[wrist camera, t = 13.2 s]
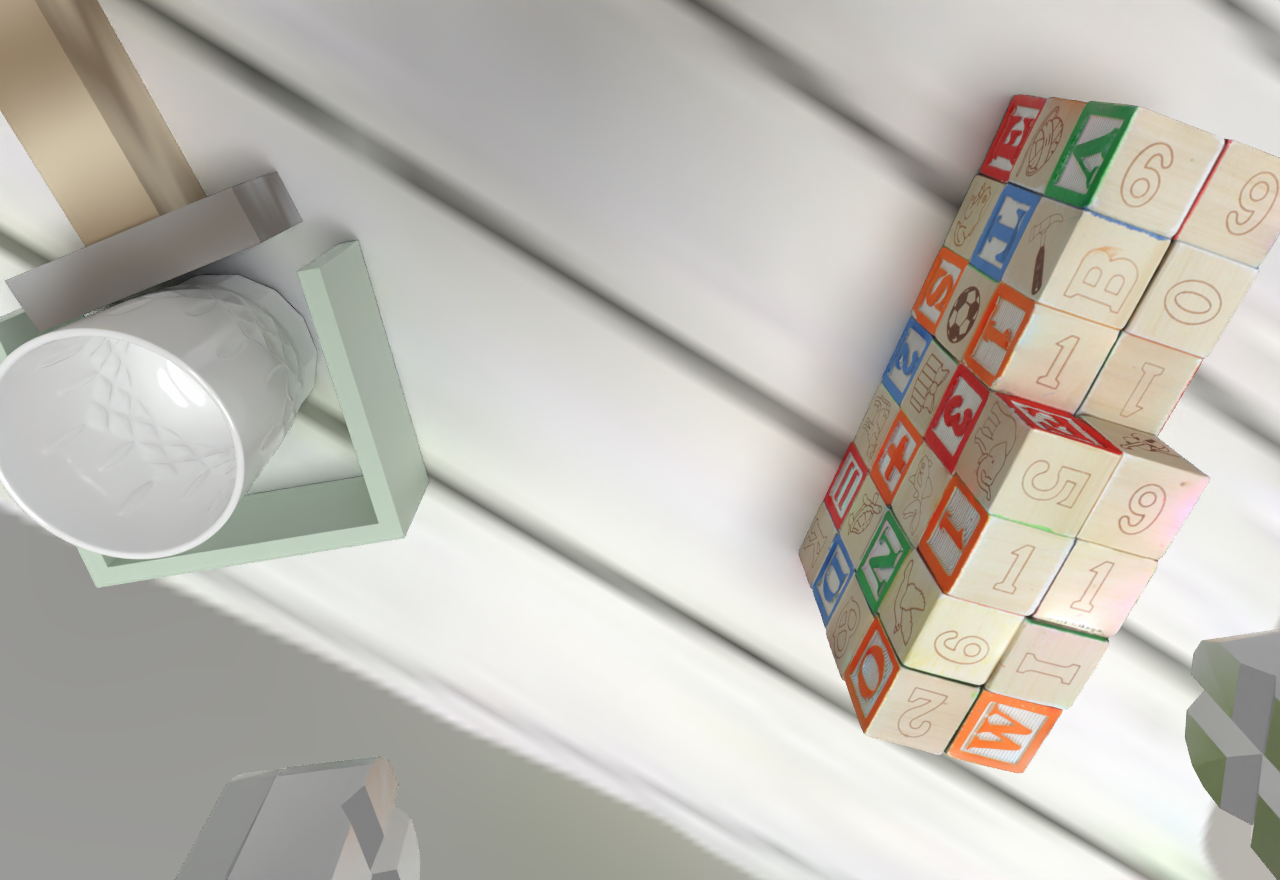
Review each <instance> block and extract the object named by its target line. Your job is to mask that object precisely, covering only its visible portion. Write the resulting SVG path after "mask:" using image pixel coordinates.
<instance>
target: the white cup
mask: <svg viewBox="0 0 1280 880" xmlns="http://www.w3.org/2000/svg"><path fill="white" fill-rule="evenodd" d="M316 362H317V350H316V348H315V345H314V343H313V341H312V338H311V336H310V333H309V331H308V328H307V326H306V323H305V321H304V319H303V317H302V316H301V315H300V314H299V313H298V312H297V311H296V310H295V309H294V308H293V307H292V306H291V305H290V304H289V303H288V302H287V301H286V300H285V299H284V298H283V297H282V296H281V295H280V294H279V293H277V292H276V291H275V290H274V289H271V288H269V287H266V286H264V285H262V284H259V283H257V282H254V281H252V280H249V279H247V278H245V277H242V276H240V275H200V276H196V277H194V278H192V279H189V280H187V281H185V282H182V283H180V284H178V285H176V286H172V287H167V288H163V289H159V290H155V291H152V292H150V293H147V294H144V295H142V296H139V297H137V298H133V299H130V300H127V301H124V302H122V303H119V304H117V305H115V306H112V307H110V308H107V309H105V310H103V311H100V312H98V313H95V314H93V315H90V316H88V317H86V318H83V319H81V320H78V321H76V322H73V323H71V324H68V325H66V326H64V327H61V328H59V329H56V330H54V331H51V332H49V333H46V334H44V335H41V336H39V337H36V338H34V339H32V340H30V341H28V342H26V343H24V344H23V345H21V346H20V347H18V348H17V349H15V350H14V351H13V352H12V353H10V354H9V355H8V356H7V357H6V358H5V359H4V360H3V361H2V362H1V364H0V483H1V485H2V486H3V488H4V489H5V490H6V492H7V493H8V494H9V496H10V497H11V498H12V499H13V500H14V502H15V503H16V504H17V505H18V506H19V507H20V508H21V509H22V510H23V511H24V512H25V513H26V514H27V515H28V516H29V517H31V518H32V519H33V520H34V521H35V522H37V523H38V524H39V525H41V526H42V527H43V528H45V529H46V530H48V531H49V532H51V533H52V534H54V535H56V536H57V537H59V538H61V539H63V540H65V541H67V542H69V543H71V544H73V545H75V546H78V547H80V548H83V549H85V550H88V551H91V552H95V553H98V554H102V555H106V556H111V557H116V558H124V559H156V558H163V557H168V556H172V555H176V554H179V553H182V552H185V551H187V550H190V549H192V548H194V547H196V546H198V545H200V544H201V543H203V542H205V541H206V540H208V539H209V538H210V537H212V536H213V535H214V534H215V533H216V532H217V531H218V530H219V529H220V528H221V527H222V526H223V525H224V524H225V523H226V522H227V520H228V519H229V517H230V516H231V515H232V513H233V512H234V510H235V509H236V507H237V506H238V504H239V503H240V501H241V500H242V499H243V497H244V496H245V494H246V493H247V491H248V490H249V489H250V487H251V486H252V484H253V483H254V482H255V480H256V479H257V477H258V476H259V474H260V473H261V472H262V470H263V468H264V467H265V466H266V464H267V463H268V461H269V460H270V458H271V457H272V456H273V454H274V453H275V451H276V450H277V449H278V447H279V446H280V445H281V443H282V441H283V439H284V437H285V436H286V434H287V432H288V431H289V430H290V428H291V427H292V425H293V423H294V419H295V416H296V414H297V412H298V411H299V409H300V408H301V406H302V405H303V403H304V402H305V400H306V399H307V397H308V396H309V394H310V393H311V391H312V390H313V388H314V386H315V376H316Z"/></svg>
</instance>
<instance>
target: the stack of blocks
mask: <svg viewBox="0 0 1280 880" xmlns="http://www.w3.org/2000/svg"><path fill="white" fill-rule="evenodd" d="M1279 234H1280V158H1279V157H1276V156H1274V155H1271V154H1268V153H1266V152H1263V151H1260V150H1258V149H1256V148H1253V147H1250V146H1247V145H1245V144H1242V143H1240V142H1237V141H1234V140H1229V139H1224V138H1221V137H1219V136H1216V135H1214V134H1211V133H1209V132H1206V131H1204V130H1201V129H1198V128H1196V127H1193V126H1190V125H1188V124H1185V123H1182V122H1180V121H1177V120H1174V119H1172V118H1169V117H1167V116H1164V115H1161V114H1158V113H1156V112H1153V111H1151V110H1148V109H1145V108H1142V107H1139V106H1134V105H1126V104H1117V103H1105V102H1096V101H1090V102H1088V103H1086V102H1081V101H1076V100H1068V99H1061V98H1055V97H1051V98H1048V99H1047V98H1042V97H1037V96H1030V95H1020V94H1019V95H1014V97H1013V99H1012V100H1011V103H1010V105H1009V107H1008V110H1007V112H1006V114H1005V116H1004V119H1003V121H1002V123H1001V125H1000V127H999V130H998V132H997V134H996V136H995V138H994V141H993V143H992V145H991V147H990V150H989V152H988V154H987V156H986V159H985V161H984V163H983V165H982V167H981V171H980V174H978V175H976V176H975V177H974V179H973V181H972V183H971V185H970V188H969V190H968V192H967V194H966V196H965V198H964V200H963V202H962V205H961V207H960V209H959V211H958V213H957V216H956V218H955V220H954V222H953V224H952V226H951V228H950V231H949V233H948V235H947V237H946V240H945V243H944V246H943V247H942V249H941V250H940V252H939V254H938V256H937V258H936V260H935V262H934V264H933V266H932V269H931V271H930V273H929V275H928V277H927V279H926V281H925V283H924V285H923V287H922V290H921V292H920V294H919V296H918V298H917V301H916V303H915V305H914V307H913V309H912V317H911V318H910V320H909V322H908V324H907V326H906V328H905V330H904V332H903V334H902V337H901V339H900V341H899V343H898V345H897V347H896V349H895V352H894V354H893V356H892V358H891V360H890V362H889V364H888V366H887V369H886V371H885V373H884V375H883V378H882V382H881V384H880V385H879V387H878V389H877V391H876V393H875V395H874V397H873V400H872V402H871V404H870V406H869V408H868V410H867V412H866V415H865V417H864V419H863V421H862V423H861V425H860V428H859V430H858V432H857V434H856V436H855V439H854V441H853V442H851V444H850V445H849V448H848V450H847V452H846V454H845V456H844V458H843V460H842V462H841V464H840V467H839V469H838V471H837V473H836V475H835V477H834V479H833V481H832V483H831V486H830V488H829V490H828V492H827V494H826V496H825V498H824V501H823V502H822V504H821V506H820V508H819V510H818V512H817V514H816V516H815V518H814V520H813V522H812V525H811V527H810V529H809V531H808V533H807V535H806V537H805V539H804V542H803V544H802V546H801V548H800V550H799V557H800V560H801V563H802V565H803V568H804V570H805V573H806V576H807V580H808V582H809V585H810V587H811V589H813V593H814V597H815V600H816V602H817V605H818V608H819V610H820V613H821V616H822V620H823V623H824V626H825V628H826V635H827V638H828V641H829V644H830V648H831V650H832V654H833V656H834V659H835V661H836V665H837V668H838V670H839V673H840V676H841V678H842V680H844V681H845V682H846V685H847V688H848V691H849V694H850V697H851V700H852V703H853V706H854V709H855V711H856V714H857V718H858V721H859V723H860V726H861V728H862V730H863V733H864V734H865V735H867V736H869V737H873V738H877V739H881V740H885V741H889V742H893V743H896V744H900V745H904V746H908V747H912V748H916V749H919V750H923V751H926V752H929V753H933V754H937V755H941V754H942V752H943V751H944V752H945V754H946V755H948V756H950V757H953V758H955V759H959V760H963V761H968V762H972V763H976V764H980V765H984V766H988V767H993V768H997V769H1001V770H1005V771H1010V772H1014V773H1023V772H1024V771H1025V769H1026V768H1027V766H1028V765H1029V763H1030V762H1031V760H1032V758H1033V757H1034V755H1035V754H1036V752H1037V751H1038V749H1039V747H1040V746H1041V744H1042V743H1043V741H1044V740H1045V738H1046V737H1047V736H1048V734H1049V733H1050V731H1051V729H1052V727H1053V726H1054V724H1055V723H1056V721H1057V720H1058V718H1059V717H1060V715H1061V714H1062V709H1068V708H1070V707H1071V706H1072V704H1073V702H1074V701H1075V699H1076V697H1077V696H1078V694H1079V693H1080V692H1081V690H1082V689H1083V687H1084V685H1085V683H1086V682H1087V680H1088V679H1089V677H1090V676H1091V674H1092V672H1093V671H1094V669H1095V668H1096V666H1097V664H1098V663H1099V661H1100V659H1101V658H1102V656H1103V654H1104V653H1105V651H1106V649H1107V648H1108V646H1109V640H1108V638H1109V637H1110V636H1113V635H1115V634H1116V633H1117V632H1118V631H1119V629H1120V627H1121V626H1122V624H1123V623H1124V622H1125V620H1126V618H1127V616H1128V615H1129V613H1130V611H1131V610H1132V608H1133V606H1134V605H1135V603H1136V602H1137V600H1138V599H1139V597H1140V595H1141V593H1142V592H1143V590H1144V588H1145V587H1146V585H1147V584H1148V582H1149V580H1150V579H1151V577H1152V576H1153V574H1154V573H1155V571H1156V568H1157V564H1158V559H1160V558H1161V557H1163V555H1164V554H1165V553H1166V551H1167V549H1168V548H1169V546H1170V544H1171V543H1172V541H1173V540H1174V538H1175V536H1176V535H1177V533H1178V531H1179V530H1180V528H1181V527H1182V525H1183V523H1184V522H1185V520H1186V519H1187V517H1188V515H1189V514H1190V512H1191V511H1192V509H1193V507H1194V506H1195V504H1196V502H1197V501H1198V499H1199V497H1200V496H1201V494H1202V492H1203V491H1204V489H1205V488H1206V486H1207V485H1208V483H1209V480H1210V477H1209V476H1207V475H1206V474H1204V473H1203V472H1202V471H1200V470H1199V469H1198V468H1196V467H1195V466H1194V465H1193V464H1191V463H1190V462H1189V461H1187V460H1186V459H1185V458H1183V457H1182V456H1181V455H1179V454H1178V453H1177V452H1175V451H1174V450H1173V449H1172V448H1170V447H1169V446H1168V445H1166V444H1165V443H1164V442H1163V441H1161V440H1160V439H1159V438H1158V435H1159V433H1160V432H1161V430H1162V429H1163V427H1164V425H1165V423H1166V422H1167V420H1168V418H1169V417H1170V415H1171V413H1172V412H1173V410H1174V408H1175V407H1176V405H1177V403H1178V402H1179V400H1180V398H1181V397H1182V395H1183V393H1184V392H1185V390H1186V388H1187V387H1188V385H1189V383H1190V382H1191V380H1192V378H1193V377H1194V375H1195V373H1196V372H1197V370H1198V368H1199V367H1200V365H1201V363H1202V361H1203V359H1204V358H1206V357H1208V355H1209V354H1210V353H1211V351H1212V349H1213V348H1214V346H1215V344H1216V343H1217V341H1218V339H1219V338H1220V336H1221V335H1222V333H1223V331H1224V330H1225V328H1226V326H1227V325H1228V323H1229V321H1230V320H1231V318H1232V316H1233V315H1234V313H1235V311H1236V310H1237V308H1238V306H1239V305H1240V303H1241V302H1242V300H1243V298H1244V297H1245V295H1246V293H1247V292H1248V290H1249V288H1250V287H1251V285H1252V283H1253V282H1254V280H1255V278H1256V277H1257V275H1258V273H1259V268H1258V266H1259V265H1260V264H1261V263H1262V261H1263V260H1264V259H1265V257H1266V255H1267V254H1268V252H1269V251H1270V249H1271V247H1272V246H1273V244H1274V242H1275V241H1276V239H1277V238H1278V236H1279Z"/></svg>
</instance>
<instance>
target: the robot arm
mask: <svg viewBox="0 0 1280 880" xmlns="http://www.w3.org/2000/svg"><path fill="white" fill-rule="evenodd" d="M1191 675H1192V676H1193V677H1194V679H1195V680H1196V681H1197V682H1198V683H1199V684H1200V685H1201V686H1202V688H1203V689H1204V691H1203V692H1202V693H1201V695H1200V696H1199V697H1198V698H1197V699H1196V700H1195V701H1194V703H1193V704H1192V705H1191V706H1190V707H1189V708H1188V709H1187V713H1186V729H1185V740H1186V743H1187V747H1188V751H1189V755H1190V759H1191V763H1192V766H1193V768H1194V770H1195V772H1196V774H1197V775H1198V777H1199V779H1200V781H1201V783H1202V785H1203V787H1204V788H1205V789H1206V791H1207V792H1208V793H1209V795H1210V796H1211V797H1212V799H1213V800H1214V801H1215V802H1216V804H1217V805H1218V806H1219V808H1221V809H1222V810H1224V811H1226V812H1228V813H1230V814H1232V815H1234V816H1236V817H1238V818H1239V819H1241V820H1243V821H1245V822H1247V823H1249V824H1251V825H1252V830H1251V848H1252V849H1253V850H1254V852H1255V853H1256V854H1257V855H1258V857H1259V858H1260V859H1261V860H1262V862H1263V863H1264V864H1265V865H1266V867H1267V868H1268V869H1269V870H1270V871H1271V873H1272V874H1273V875H1274V876H1275V878H1276V879H1277V880H1280V629H1277V630H1271V631H1264V632H1257V633H1250V634H1244V635H1237V636H1230V637H1223V638H1216V639H1210V640H1203V641H1201V642H1200V644H1199V646H1198V647H1197V649H1196V650H1195V652H1194V654H1193V661H1192V669H1191ZM398 786H399V784H398V781H397V779H396V776H395V774H394V771H393V769H392V766H391V764H390V761H389V760H387V759H385V758H383V757H380V756H378V757H370V758H362V759H352V760H344V761H335V762H326V763H318V764H309V765H301V766H292V767H287V768H286V769H275V770H267V771H257V772H249V773H240V774H239V775H237V776H236V777H235V778H233V779H232V780H231V781H229V782H228V783H227V784H226V786H225V788H224V790H223V791H222V793H221V795H220V797H219V799H218V801H217V802H216V804H215V806H214V808H213V810H212V812H211V814H210V815H209V817H208V819H207V821H206V823H205V825H204V827H203V828H202V830H201V832H200V834H199V836H198V838H197V840H196V841H195V843H194V845H193V847H192V849H191V851H190V853H189V854H188V856H187V858H186V860H185V862H184V864H183V865H182V867H181V869H180V871H179V873H178V875H177V877H176V878H175V880H419V875H420V854H419V848H418V842H417V835H416V832H415V829H414V826H413V823H412V821H411V817H409V816H408V815H407V814H405V813H404V812H402V811H401V810H399V809H398V808H397V807H395V806H394V805H393V804H394V800H395V796H396V793H397V790H398Z"/></svg>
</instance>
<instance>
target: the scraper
mask: <svg viewBox="0 0 1280 880" xmlns="http://www.w3.org/2000/svg"><path fill="white" fill-rule="evenodd" d="M0 110H1V112H2V114H3V115H4V117H5V118H6V120H7V122H8V123H9V125H10V126H11V128H12V130H13V131H14V133H15V134H16V136H17V138H18V139H19V141H20V142H21V144H22V146H23V147H24V149H25V150H26V152H27V154H28V155H29V157H30V158H31V160H32V162H33V163H34V165H35V166H36V168H37V170H38V171H39V173H40V174H41V176H42V178H43V179H44V181H45V182H46V184H47V186H48V187H49V189H50V190H51V192H52V194H53V195H54V197H55V198H56V200H57V202H58V203H59V205H60V206H61V208H62V210H63V211H64V213H65V214H66V216H67V218H68V219H69V221H70V222H71V224H72V226H73V227H74V229H75V230H76V232H77V234H78V235H79V237H80V238H81V240H82V242H83V243H84V245H85V246H86V247H85V248H83V249H80V250H78V251H75V252H73V253H71V254H68V255H66V256H63V257H61V258H59V259H56V260H54V261H51V262H49V263H46V264H44V265H42V266H39V267H37V268H34V269H32V270H30V271H27V272H25V273H22V274H20V275H17V276H15V277H13V278H10V279H8V280H5V282H6V284H7V285H8V287H9V288H10V290H11V291H12V293H13V294H14V296H15V297H16V299H17V300H18V302H19V303H20V305H21V306H22V308H23V309H24V311H25V312H26V314H27V315H28V317H29V318H30V320H31V321H32V323H33V324H34V326H35V327H36V329H37V330H38V331H39V332H41V331H44V330H46V329H49V328H51V327H54V326H56V325H59V324H61V323H64V322H66V321H69V320H71V319H74V318H76V317H79V316H81V315H84V314H86V313H88V312H91V311H93V310H96V309H98V308H101V307H103V306H106V305H108V304H111V303H113V302H116V301H118V300H121V299H123V298H126V297H128V296H131V295H133V294H136V293H138V292H140V291H143V290H145V289H148V288H150V287H153V286H155V285H158V284H160V283H163V282H165V281H168V280H170V279H173V278H175V277H178V276H180V275H183V274H185V273H188V272H190V271H192V270H195V269H197V268H200V267H202V266H205V265H207V264H210V263H212V262H215V261H217V260H220V259H222V258H225V257H227V256H230V255H232V254H235V253H237V252H240V251H242V250H244V249H247V248H249V247H252V246H254V245H257V244H259V243H262V242H264V241H266V240H267V239H269V238H271V237H273V236H275V235H277V234H279V233H281V232H283V231H285V230H287V229H289V228H290V227H292V226H294V225H296V224H298V223H300V222H302V221H303V220H302V218H301V216H300V215H299V213H298V211H297V209H296V207H295V205H294V203H293V201H292V199H291V197H290V195H289V193H288V191H287V190H286V188H285V186H284V184H283V182H282V180H281V178H280V176H279V174H278V172H274V173H271V174H268V175H265V176H262V177H259V178H256V179H254V180H251V181H248V182H245V183H242V184H239V185H236V186H233V187H230V188H228V189H225V190H223V191H220V192H218V193H215V194H213V195H211V196H208V197H207V196H206V195H205V193H204V191H203V189H202V187H201V186H200V184H199V182H198V180H197V178H196V177H195V175H194V173H193V171H192V169H191V168H190V166H189V164H188V162H187V160H186V159H185V157H184V155H183V153H182V151H181V150H180V148H179V146H178V144H177V143H176V141H175V139H174V137H173V135H172V134H171V132H170V130H169V128H168V126H167V125H166V123H165V121H164V119H163V117H162V116H161V114H160V112H159V110H158V108H157V107H156V105H155V103H154V101H153V99H152V98H151V96H150V94H149V92H148V91H147V89H146V87H145V85H144V83H143V82H142V80H141V78H140V76H139V74H138V73H137V71H136V69H135V67H134V65H133V64H132V62H131V60H130V58H129V56H128V55H127V53H126V51H125V49H124V47H123V46H122V44H121V42H120V40H119V39H118V37H117V35H116V33H115V31H114V30H113V28H112V26H111V24H110V22H109V21H108V19H107V17H106V15H105V13H104V12H103V10H102V8H101V6H100V4H99V3H98V1H97V0H0Z"/></svg>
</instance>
